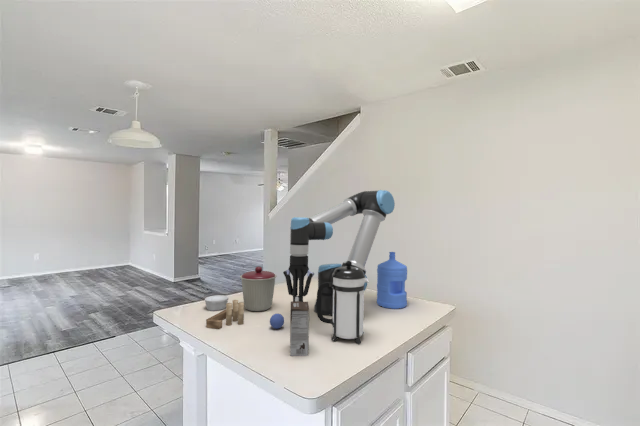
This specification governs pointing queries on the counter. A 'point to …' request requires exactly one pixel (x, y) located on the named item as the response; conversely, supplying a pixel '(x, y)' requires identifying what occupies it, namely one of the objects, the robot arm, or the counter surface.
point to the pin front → (240, 313)
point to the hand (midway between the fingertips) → (297, 312)
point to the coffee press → (346, 302)
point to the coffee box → (299, 328)
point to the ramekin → (216, 302)
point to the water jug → (391, 283)
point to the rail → (216, 320)
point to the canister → (258, 289)
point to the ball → (277, 321)
